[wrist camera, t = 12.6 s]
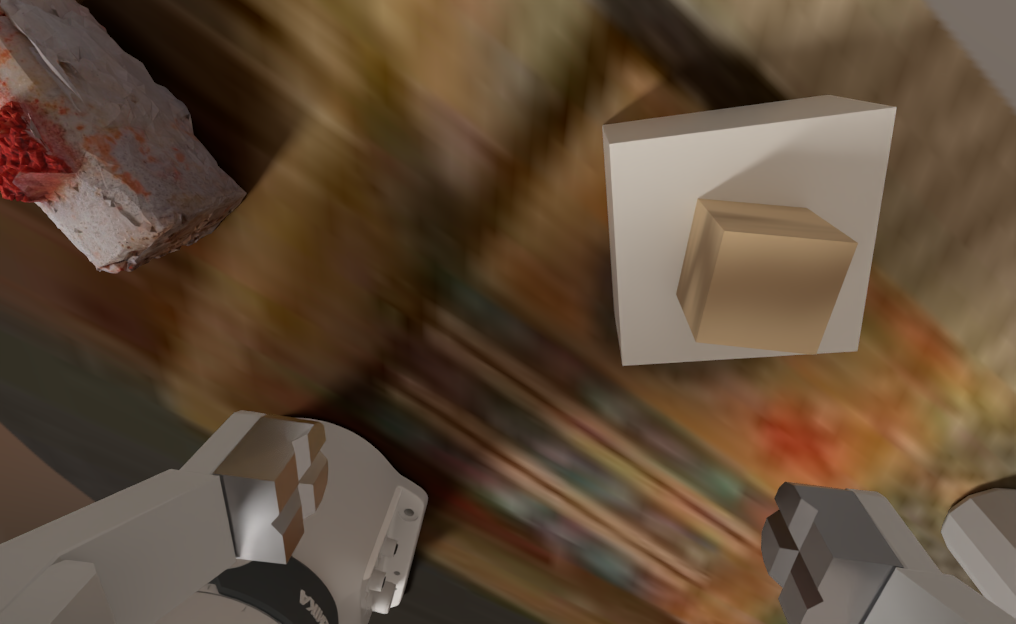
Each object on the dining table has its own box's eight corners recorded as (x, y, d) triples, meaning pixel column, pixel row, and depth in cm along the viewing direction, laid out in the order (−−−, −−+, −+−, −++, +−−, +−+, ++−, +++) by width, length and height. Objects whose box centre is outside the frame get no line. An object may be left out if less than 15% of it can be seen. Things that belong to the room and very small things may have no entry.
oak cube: (776, 304, 27) (815, 355, 22) (675, 294, 27) (695, 342, 23) (806, 207, 25) (858, 243, 20) (697, 198, 25) (724, 230, 21)
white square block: (805, 295, 34) (857, 351, 28) (613, 310, 36) (622, 365, 30) (826, 94, 29) (896, 107, 22) (602, 124, 31) (609, 144, 24)
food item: (27, 73, 33) (-172, 83, 24) (97, -16, 30) (-98, -43, 21) (195, 248, 37) (78, 310, 28) (270, 183, 34) (166, 229, 25)
